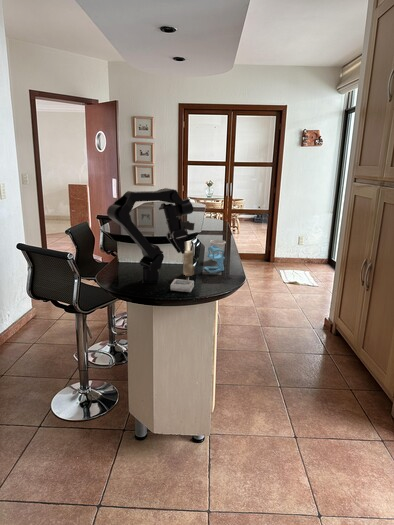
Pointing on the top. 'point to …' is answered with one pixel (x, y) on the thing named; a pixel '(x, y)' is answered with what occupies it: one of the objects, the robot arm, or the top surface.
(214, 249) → the chair
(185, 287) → the socket plate
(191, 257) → the keyed post
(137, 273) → the top surface
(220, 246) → the dixie cup
